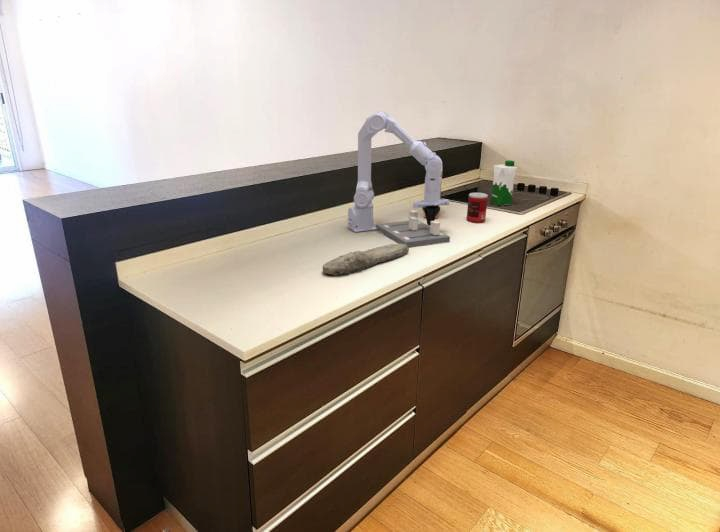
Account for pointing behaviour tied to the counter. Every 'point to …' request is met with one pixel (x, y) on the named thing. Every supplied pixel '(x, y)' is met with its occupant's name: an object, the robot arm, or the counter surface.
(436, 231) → the block
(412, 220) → the block
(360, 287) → the counter surface
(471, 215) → the canned food
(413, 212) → the block
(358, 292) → the counter surface
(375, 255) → the elongated rock
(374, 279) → the counter surface
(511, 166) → the milk carton
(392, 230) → the breaker panel
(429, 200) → the robot arm
